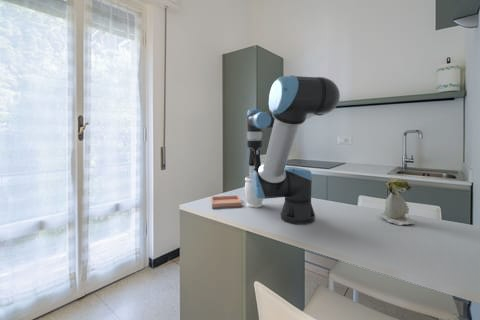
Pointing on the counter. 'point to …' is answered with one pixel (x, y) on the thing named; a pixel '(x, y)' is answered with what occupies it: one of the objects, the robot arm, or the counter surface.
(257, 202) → the jar
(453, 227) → the counter surface
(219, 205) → the tray
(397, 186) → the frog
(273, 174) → the robot arm
